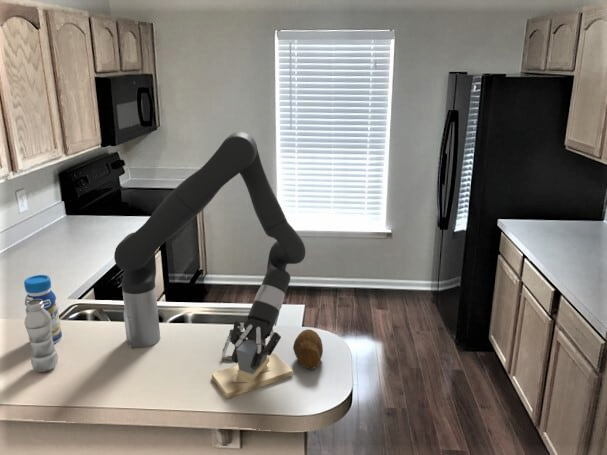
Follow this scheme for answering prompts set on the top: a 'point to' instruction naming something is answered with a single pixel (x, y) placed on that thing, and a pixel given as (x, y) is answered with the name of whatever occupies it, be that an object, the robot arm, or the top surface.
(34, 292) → the beverage bottle
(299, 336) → the potato
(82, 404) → the top surface
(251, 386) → the pine board
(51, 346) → the plastic bottle
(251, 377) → the sanding block
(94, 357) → the top surface
